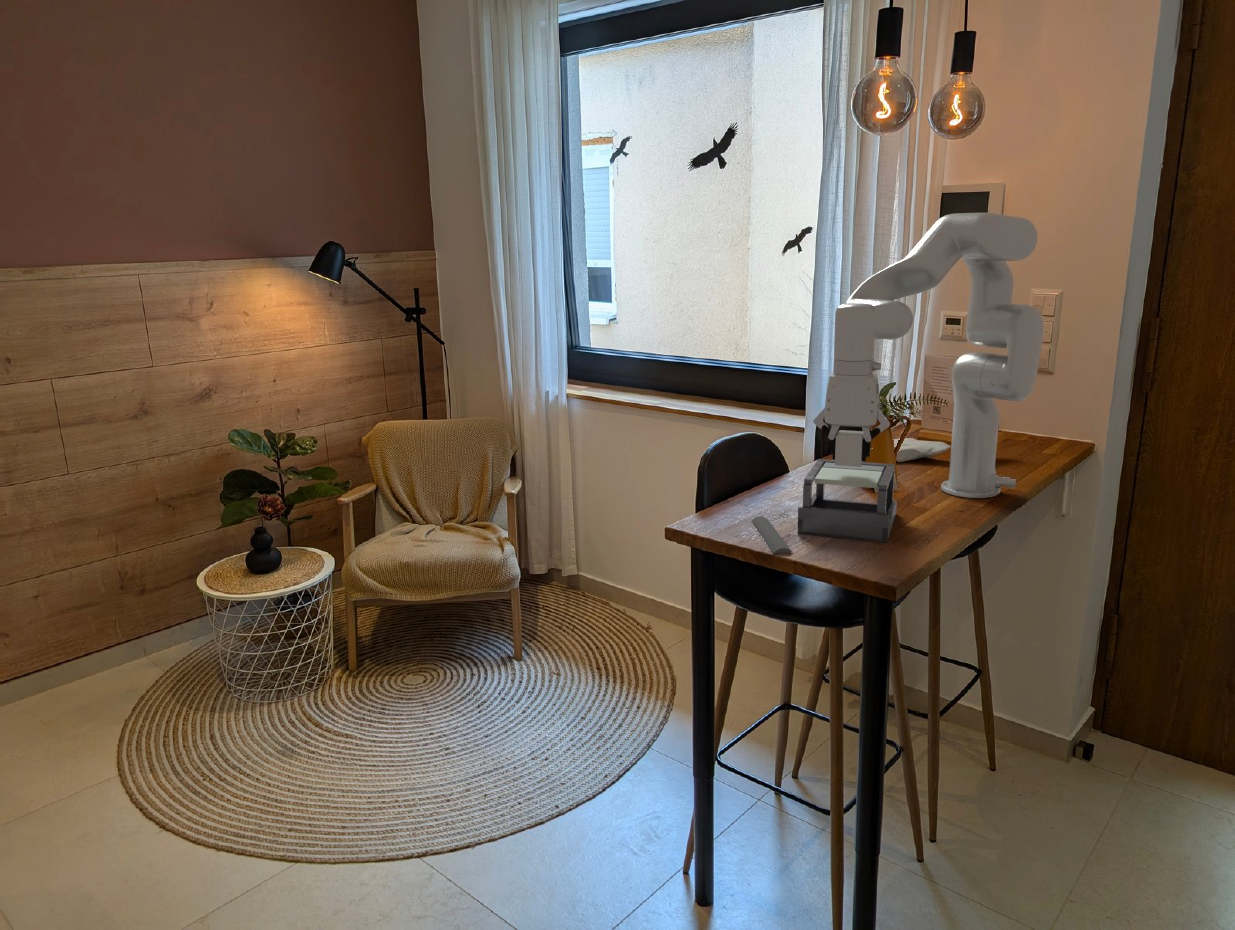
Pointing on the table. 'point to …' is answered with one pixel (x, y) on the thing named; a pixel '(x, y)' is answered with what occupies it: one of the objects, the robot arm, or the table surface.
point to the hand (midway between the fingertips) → (849, 458)
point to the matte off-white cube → (849, 448)
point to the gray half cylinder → (770, 535)
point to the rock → (918, 449)
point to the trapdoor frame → (848, 510)
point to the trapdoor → (850, 475)
